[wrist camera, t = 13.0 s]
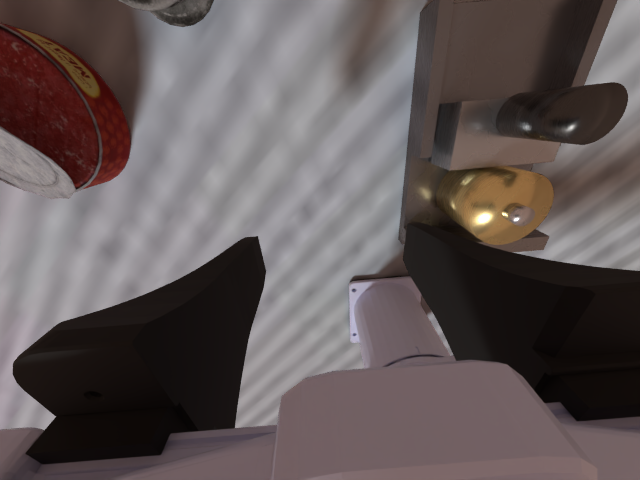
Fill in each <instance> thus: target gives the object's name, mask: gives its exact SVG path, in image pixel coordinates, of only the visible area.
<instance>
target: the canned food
mask: <svg viewBox="0 0 640 480" xmlns="http://www.w3.org/2000/svg"><path fill="white" fill-rule="evenodd" d="M130 149H131V141H130V131H129V127H128V124H127V120H126V117H125V115H124V113H123V110H122V108H121V106H120V104H119V102H118V100H117V99H116V97H115V95H114V94H113V92H112V90H111V89H110V88H109V86H108V85H107V84H106V83H105V81H104V80H103V79H102V78H101V76H100V75H99V74H98V73H97V72H96V71H95V70H94V69H93V68H92V67H91V66H90V65H89V64H88V63H87V62H86V61H84V60H83V59H82V58H81V57H79V56H78V55H77V54H75V53H74V52H72V51H71V50H70V49H68V48H67V47H65V46H63V45H61V44H59V43H58V42H56V41H54V40H52V39H50V38H47V37H45V36H42V35H39V34H36V33H33V32H29V31H26V30H22V29H19V28H16V27H12V26H9V25H6V24H2V23H0V180H1V181H3V182H5V183H7V184H10V185H12V186H15V187H17V188H20V189H22V190H24V191H28V192H32V193H35V194H39V195H41V196H44V197H47V198H50V199H54V198H68V199H69V198H70V197H71V196H72V194H73V193H74V192H77V191H80V190H82V189H85V188H88V187H91V186H95V185H98V184H101V183H104V182H107V181H110V180H112V179H113V178H115V177H116V176H118V175H119V174H120V173H121V171H122V170H123V169H124V168H125V166H126V164H127V161H128V159H129V155H130Z"/></svg>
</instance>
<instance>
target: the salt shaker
mask: <svg viewBox="0 0 640 480" xmlns="http://www.w3.org/2000/svg"><path fill="white" fill-rule="evenodd" d="M118 1H120V2H122V3H124V4H127V5H129V6H131V7H133V8H135V9H140V10H146V11H150V12H151V13H152V14H153V15H154V16H156V17H157V18H158V19H160V20H162V21H164V22H166V23H168V24H170V25H174V26H180V27H185V26H191V25H194V24H196V23H197V22H199V21H201V20H202V19H203V18H204V17H205V15H206V14H207V13H208V12H209V10H210V8H211V5H212V3H213V0H118Z"/></svg>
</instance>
